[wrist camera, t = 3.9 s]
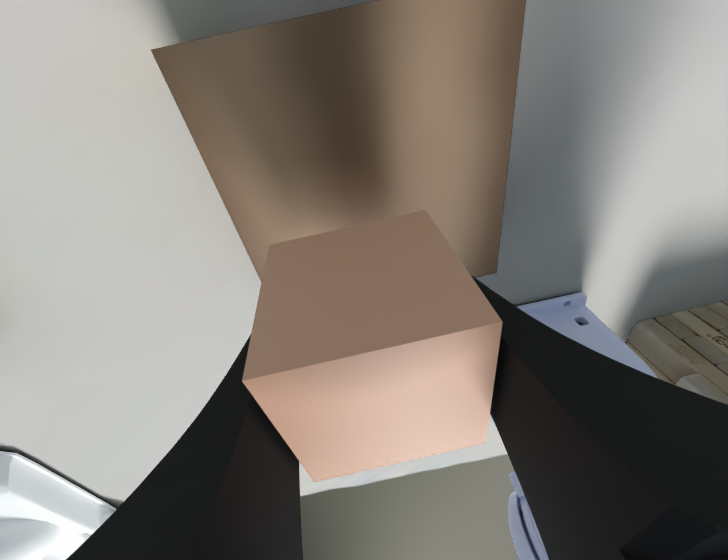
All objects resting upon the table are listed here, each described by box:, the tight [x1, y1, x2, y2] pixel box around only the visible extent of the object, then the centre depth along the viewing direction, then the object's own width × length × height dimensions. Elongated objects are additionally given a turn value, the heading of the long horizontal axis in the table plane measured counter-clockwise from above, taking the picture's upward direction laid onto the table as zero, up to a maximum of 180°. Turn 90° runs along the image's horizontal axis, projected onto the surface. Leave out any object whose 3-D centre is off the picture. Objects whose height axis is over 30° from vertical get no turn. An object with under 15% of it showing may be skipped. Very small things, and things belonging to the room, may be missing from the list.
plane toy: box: [0, 451, 117, 560], centre depth 28 cm, size 10×20×6 cm, turn 10°
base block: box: [151, 0, 526, 282], centre depth 15 cm, size 12×12×3 cm
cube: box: [242, 210, 503, 482], centre depth 9 cm, size 5×5×5 cm
